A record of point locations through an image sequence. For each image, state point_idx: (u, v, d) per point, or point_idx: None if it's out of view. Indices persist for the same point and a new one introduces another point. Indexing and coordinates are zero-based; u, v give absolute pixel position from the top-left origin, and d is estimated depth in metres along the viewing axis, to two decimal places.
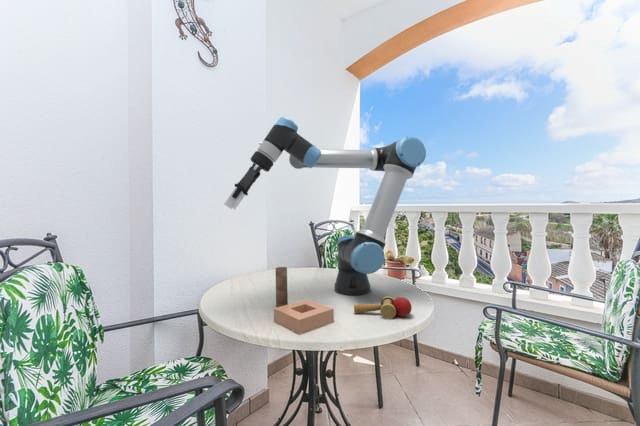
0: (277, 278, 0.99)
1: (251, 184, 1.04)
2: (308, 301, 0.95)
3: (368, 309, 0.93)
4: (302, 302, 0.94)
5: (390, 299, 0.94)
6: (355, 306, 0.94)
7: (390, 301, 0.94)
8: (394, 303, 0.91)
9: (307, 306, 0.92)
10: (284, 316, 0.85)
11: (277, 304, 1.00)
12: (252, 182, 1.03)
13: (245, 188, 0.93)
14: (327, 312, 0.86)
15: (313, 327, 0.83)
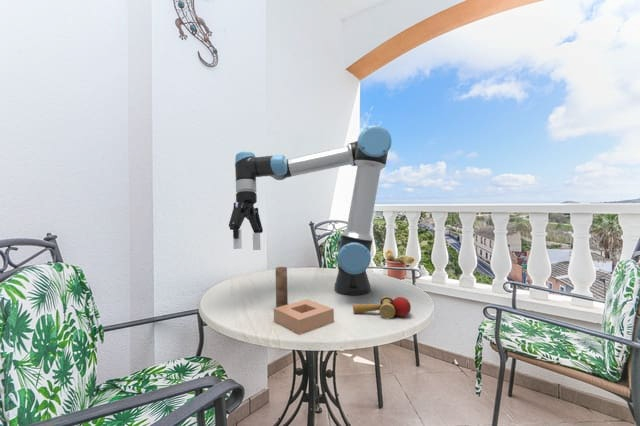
0: (277, 278, 0.99)
1: (255, 221, 1.11)
2: (308, 301, 0.95)
3: (367, 309, 0.93)
4: (302, 302, 0.94)
5: (389, 299, 0.94)
6: (354, 306, 0.94)
7: (389, 301, 0.94)
8: (393, 303, 0.91)
9: (307, 306, 0.92)
10: (284, 316, 0.85)
11: (277, 304, 1.00)
12: (254, 218, 1.10)
13: (240, 225, 1.00)
14: (327, 312, 0.86)
15: (313, 327, 0.83)
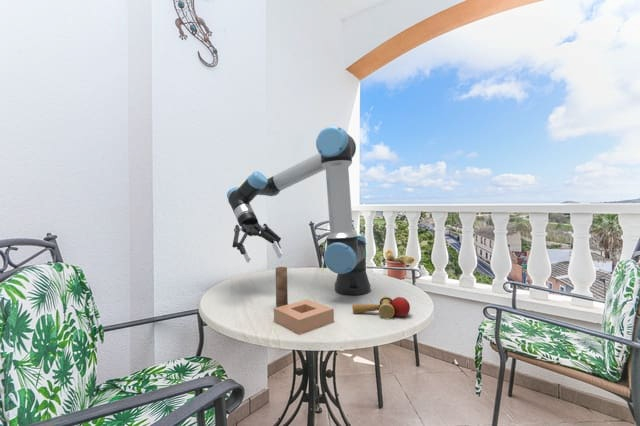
0: (277, 278, 0.99)
1: (266, 233, 1.17)
2: (308, 301, 0.95)
3: (367, 309, 0.93)
4: (302, 302, 0.94)
5: (388, 299, 0.94)
6: (354, 306, 0.94)
7: (389, 301, 0.94)
8: (392, 303, 0.91)
9: (307, 306, 0.92)
10: (284, 316, 0.85)
11: (277, 304, 1.00)
12: (262, 232, 1.16)
13: (243, 241, 1.08)
14: (327, 312, 0.86)
15: (313, 327, 0.83)
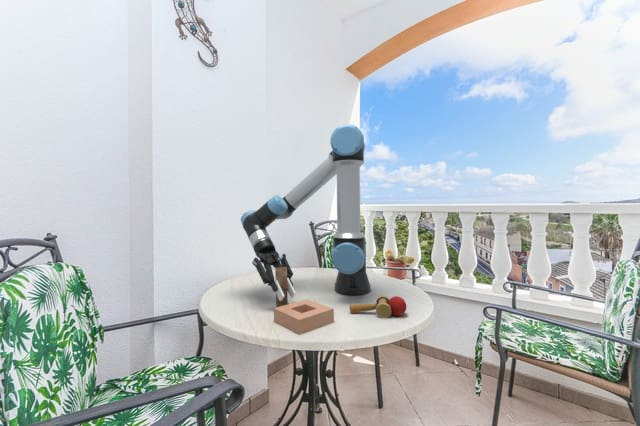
0: (277, 278, 0.99)
1: (280, 265, 1.05)
2: (308, 301, 0.95)
3: (364, 309, 0.94)
4: (302, 302, 0.94)
5: (385, 298, 0.95)
6: (351, 306, 0.95)
7: (385, 300, 0.94)
8: (389, 302, 0.92)
9: (307, 306, 0.92)
10: (284, 316, 0.85)
11: (277, 304, 1.00)
12: (277, 263, 1.05)
13: (273, 275, 1.00)
14: (327, 312, 0.86)
15: (313, 327, 0.83)
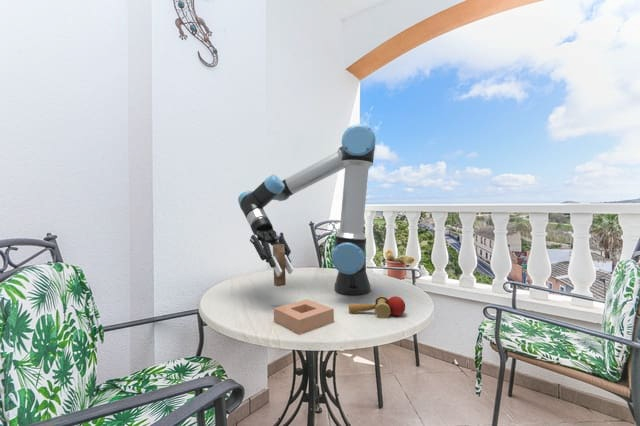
0: (274, 254, 0.99)
1: (278, 243, 1.05)
2: (308, 301, 0.95)
3: (363, 309, 0.94)
4: (302, 302, 0.94)
5: (384, 298, 0.95)
6: (350, 306, 0.95)
7: (384, 300, 0.95)
8: (388, 302, 0.92)
9: (307, 306, 0.92)
10: (284, 316, 0.85)
11: (275, 280, 1.00)
12: (274, 241, 1.05)
13: (270, 252, 1.00)
14: (327, 312, 0.86)
15: (313, 327, 0.83)
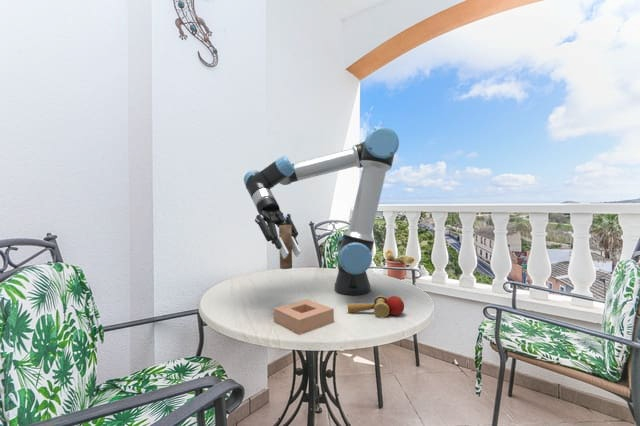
0: (281, 235, 0.93)
1: (285, 224, 0.99)
2: (308, 301, 0.95)
3: (362, 308, 0.94)
4: (302, 302, 0.94)
5: (383, 298, 0.95)
6: (349, 306, 0.95)
7: (383, 300, 0.95)
8: (387, 302, 0.92)
9: (307, 306, 0.92)
10: (284, 316, 0.85)
11: (281, 263, 0.94)
12: (281, 222, 0.99)
13: (276, 233, 0.94)
14: (327, 312, 0.86)
15: (313, 327, 0.83)
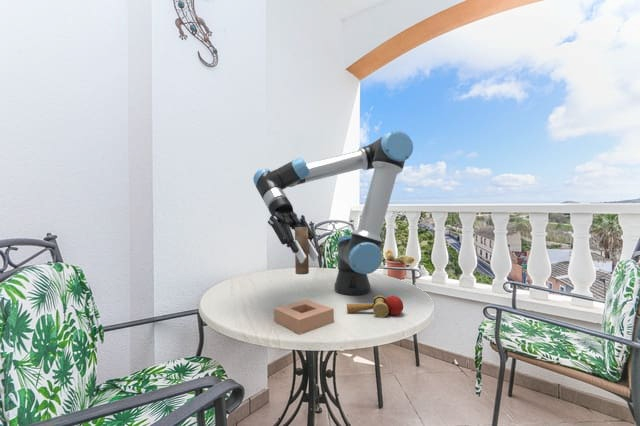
0: (297, 238, 0.87)
1: (300, 226, 0.92)
2: (308, 301, 0.95)
3: (361, 308, 0.94)
4: (302, 302, 0.94)
5: (382, 298, 0.96)
6: (348, 306, 0.95)
7: (382, 300, 0.95)
8: (386, 302, 0.92)
9: (307, 306, 0.92)
10: (284, 316, 0.85)
11: (297, 268, 0.87)
12: (296, 224, 0.93)
13: (292, 235, 0.88)
14: (327, 312, 0.86)
15: (313, 327, 0.83)
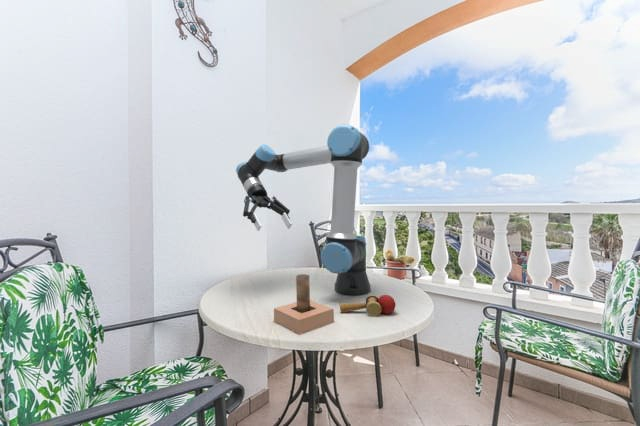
0: (298, 287, 0.87)
1: (275, 205, 1.19)
2: None
3: (354, 308, 0.95)
4: None
5: (375, 297, 0.97)
6: (341, 305, 0.95)
7: (375, 299, 0.96)
8: (379, 301, 0.93)
9: None
10: (284, 316, 0.85)
11: None
12: (272, 204, 1.18)
13: (253, 210, 1.10)
14: (327, 312, 0.86)
15: (313, 327, 0.83)
